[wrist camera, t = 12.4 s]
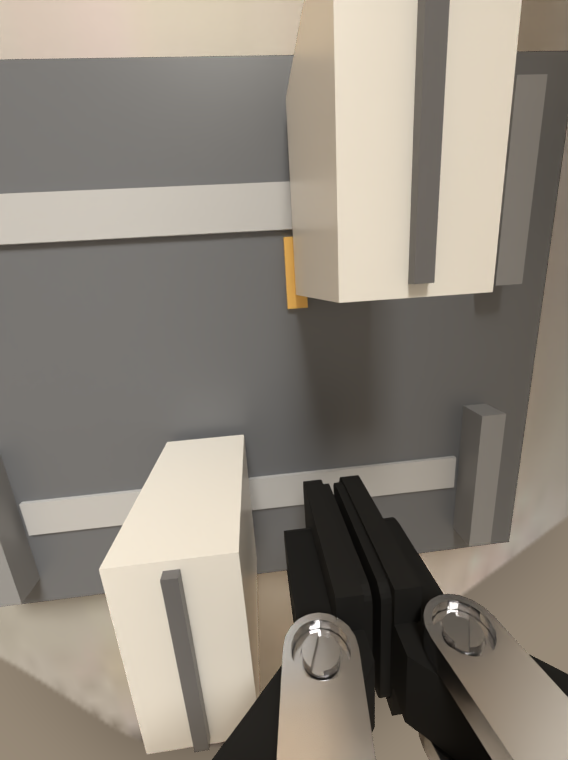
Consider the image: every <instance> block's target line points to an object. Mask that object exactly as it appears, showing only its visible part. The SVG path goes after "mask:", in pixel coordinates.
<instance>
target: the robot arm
mask: <svg viewBox="0 0 568 760" xmlns="http://www.w3.org/2000/svg"><path fill="white" fill-rule="evenodd" d="M333 491H334V494H333V492H332V489H331V487H330V485H329V483H328V484H323V482H322V480H321V479H320V480H311V481H303V493H304V509H305V525H306V528H302V529H294V530H286V531H284V542H285V554H286V564H287V574H288V582H289V590H290V598H291V606H292V614H293V622H294V624H293V625H292V626H291V627H290V629H289V631H288V632H287V634H286V636H285V640H284V645H283V656H282V666H281V667H280V669H279V670H278V671H277V673H276V674H275V675H274V677H273V678H272V679H271V681H270V682H269V683H268V685H267V686H266V687H265V689H264V690H263V692H262V693H261V694H260V696H259V697H258V698H257V700H256V701H255V702H254V704H253V705H252V706H251V708H250V709H249V710H248V712H247V713H246V714H245V716H244V717H243V719H242V720H241V721H240V723H239V724H238V725H237V727H236V728H235V729H234V731H233V732H232V733H231V735H230V736H229V737H228V739H227V740H226V741H225V743H224V744H223V746H222V747H221V748H220V750H219V751H218V752H217V754H216V755H215V756H214V758H213V759H212V760H376V758H375V751H374V744H373V738H372V731H373V729H374V727H375V724H374V723H375V721H374V719H375V718H374V717H375V715H374V713H375V707H374V706H375V690H376V693H377V695H378V697H379V698H383V697H386V699H387V702H388V705H389V708H390V711H391V714H392V716H393V715H398V714H402V715H403V718H404V720H405V722H406V723H407V724H409V725H410V726H411V727H413V728H414V729H415V730H416V731H418V732H419V737H420V740H421V743H422V745H423V748H424V751H425V753H426V754H427V757H428V758H429V760H568V674H566V673H564V672H562V671H560V670H559V669H557V668H555V667H553V666H551V665H549V664H547V663H545V662H543V661H541V660H539V659H537V658H535V657H533V656H531V655H529V654H528V653H527V652H526V651H525V650H524V649H523V648H522V646H521V645H520V644H519V643H518V642H517V641H516V640H515V639H514V638H513V637H512V635H511V634H510V633H509V632H508V631H507V630H506V629H505V628H504V627H503V626H502V625H501V623H500V622H499V621H498V620H497V619H496V618H495V617H494V616H493V615H492V614H491V613H490V612H489V611H488V610H486V609H485V608H484V607H483V606H481V605H480V604H478V603H476V602H475V601H473V600H471V599H468V598H466V597H463V596H460V595H453V594H445V595H444V594H443V592H442V591H441V589H440V588H439V586H438V584H437V583H436V581H435V580H434V578H433V576H432V575H431V573H430V572H429V570H428V569H427V567H426V565H425V564H424V562H423V561H422V559H421V557H420V556H419V554H418V553H417V551H416V549H415V548H414V546H413V545H412V543H411V541H410V540H409V538H408V537H407V535H406V533H405V532H404V530H403V529H402V527H401V525H400V524H399V522H398V521H397V520H396V518H394V517H390V518H383V517H382V515H381V513H380V512H379V510H378V508H377V506H376V505H375V503H374V501H373V499H372V498H371V496H370V494H369V492H368V491H367V489H366V487H365V485H364V484H363V482H362V480H361V478H360V477H359V475H354V476H345V477H340V478H339V482H337V483H334V485H333Z"/></svg>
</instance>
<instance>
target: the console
mask: <svg viewBox="0 0 568 760" xmlns="http://www.w3.org/2000/svg"><path fill="white" fill-rule="evenodd" d="M293 56H294V55H266V56H201V57H136V58H71V59H6V60H0V607H3V606H10V605H18V604H26V603H34V602H42V601H49V600H57V599H65V598H73V597H81V596H89V595H96V594H104V593H105V592H104V588H103V584H102V580H101V576H100V572H99V568H100V566H101V564H102V562H103V561H104V559H105V557H106V555H107V553H108V551H109V549H110V548H111V546H112V544H113V542H114V540H115V538H116V536H117V535H118V533H119V531H120V529H121V527H122V525H123V523H124V521H125V520H126V518H127V516H128V514H129V512H130V510H131V508H132V507H133V505H134V503H135V501H136V499H137V497H138V495H139V494H140V492H141V490H142V488H143V486H144V484H145V482H146V481H147V479H148V477H149V475H150V473H151V471H152V469H153V467H154V466H155V464H156V462H157V460H158V458H159V456H160V454H161V453H162V451H163V449H164V447H165V445H166V443H167V442H172V441H182V440H192V439H203V438H213V437H223V436H234V435H244V439H245V449H246V459H247V469H248V478H249V488H250V498H251V507H252V517H253V527H254V536H255V546H256V556H257V574H261V573H269V572H276V571H284V570H287V564H286V554H285V542H284V531H286V530H294V529H302V528H306V525H305V509H304V493H303V481H311V480H320V479H321V480H322V482H323V484H328V483H329V485H330V487H331V489H332V492H333V494H334V491H333V485H334V483H337V482H339V478H340V477H345V476H354V475H359V477H360V478H361V480H362V482H363V484H364V485H365V487H366V489H367V491H368V492H369V494H370V496H371V498H372V499H373V501H374V503H375V505H376V506H377V508H378V510H379V512H380V513H381V515H382V517H383V518H390V517H394V518H396V520H397V521H398V522H399V524H400V525H401V527H402V529H403V530H404V532H405V533H406V535H407V537H408V538H409V540H410V541H411V543H412V545H413V546H414V548H415V549H416V551H417V553H425V552H433V551H441V550H449V549H456V548H464V547H472V546H480V545H488V544H495V543H503V542H509V538H510V530H511V523H512V516H513V509H514V502H515V495H516V487H517V480H518V473H519V466H520V459H521V452H522V444H523V437H524V430H525V423H526V416H527V409H528V401H529V394H530V387H531V380H532V373H533V366H534V358H535V351H536V344H537V337H538V330H539V323H540V315H541V308H542V301H543V294H544V287H545V280H546V272H547V265H548V258H549V251H550V244H551V237H552V229H553V222H554V215H555V208H556V201H557V193H558V186H559V179H560V172H561V165H562V158H563V150H564V143H565V136H566V129H567V122H568V51H527V52H517V54H516V64H515V74H514V84H513V94H512V104H511V114H510V124H509V134H508V144H507V154H506V164H505V174H504V184H503V194H502V204H501V214H500V224H499V234H498V244H497V254H496V264H495V274H494V284H493V292H487V293H472V294H458V295H444V296H430V297H415V298H401V299H387V300H373V301H358V302H344V303H337V302H332V301H326V300H321V299H315V298H310V297H305V296H299V295H296V287H295V268H294V248H293V229H292V210H291V191H290V171H289V152H288V133H287V113H286V94H287V89H288V83H289V78H290V73H291V67H292V62H293Z"/></svg>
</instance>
